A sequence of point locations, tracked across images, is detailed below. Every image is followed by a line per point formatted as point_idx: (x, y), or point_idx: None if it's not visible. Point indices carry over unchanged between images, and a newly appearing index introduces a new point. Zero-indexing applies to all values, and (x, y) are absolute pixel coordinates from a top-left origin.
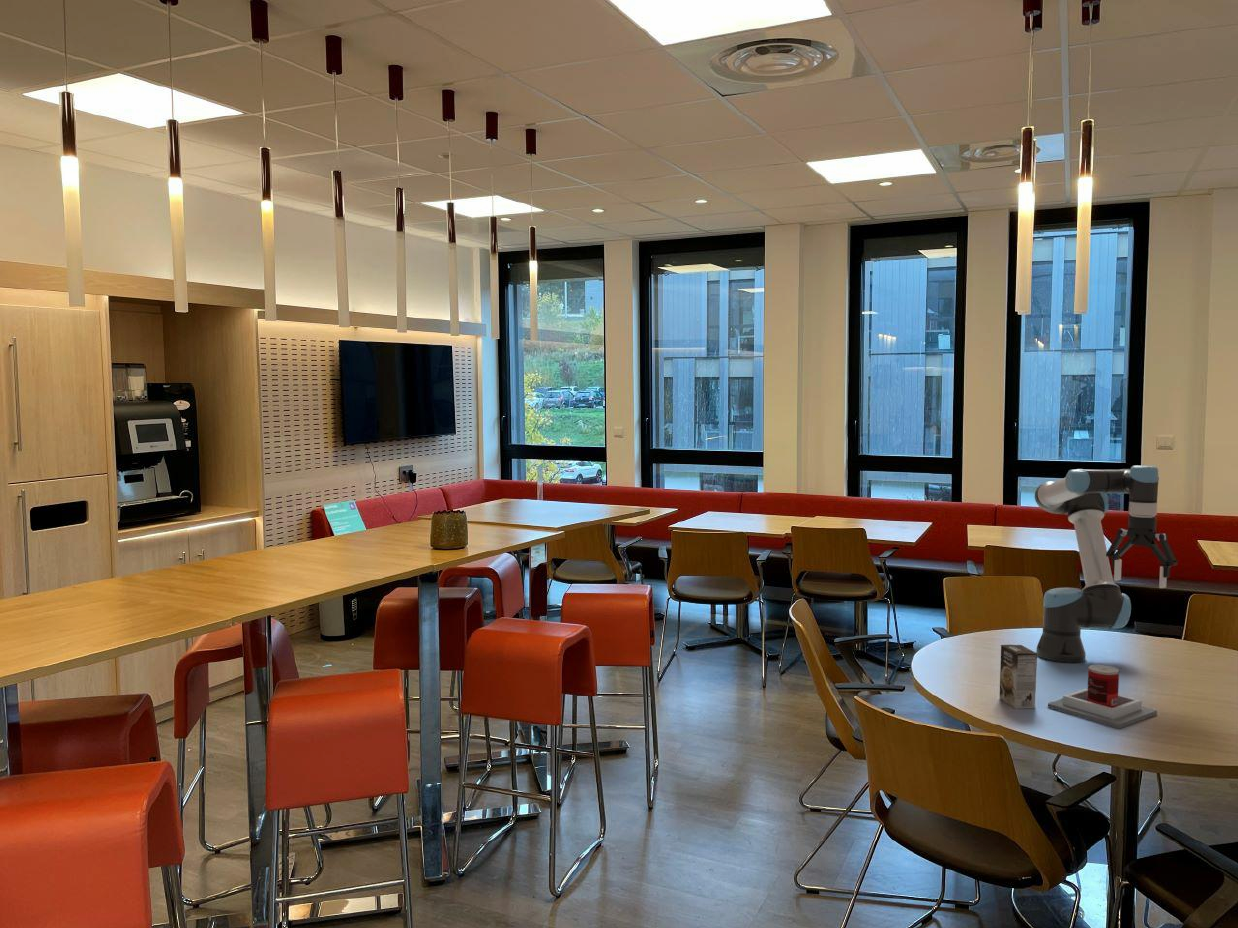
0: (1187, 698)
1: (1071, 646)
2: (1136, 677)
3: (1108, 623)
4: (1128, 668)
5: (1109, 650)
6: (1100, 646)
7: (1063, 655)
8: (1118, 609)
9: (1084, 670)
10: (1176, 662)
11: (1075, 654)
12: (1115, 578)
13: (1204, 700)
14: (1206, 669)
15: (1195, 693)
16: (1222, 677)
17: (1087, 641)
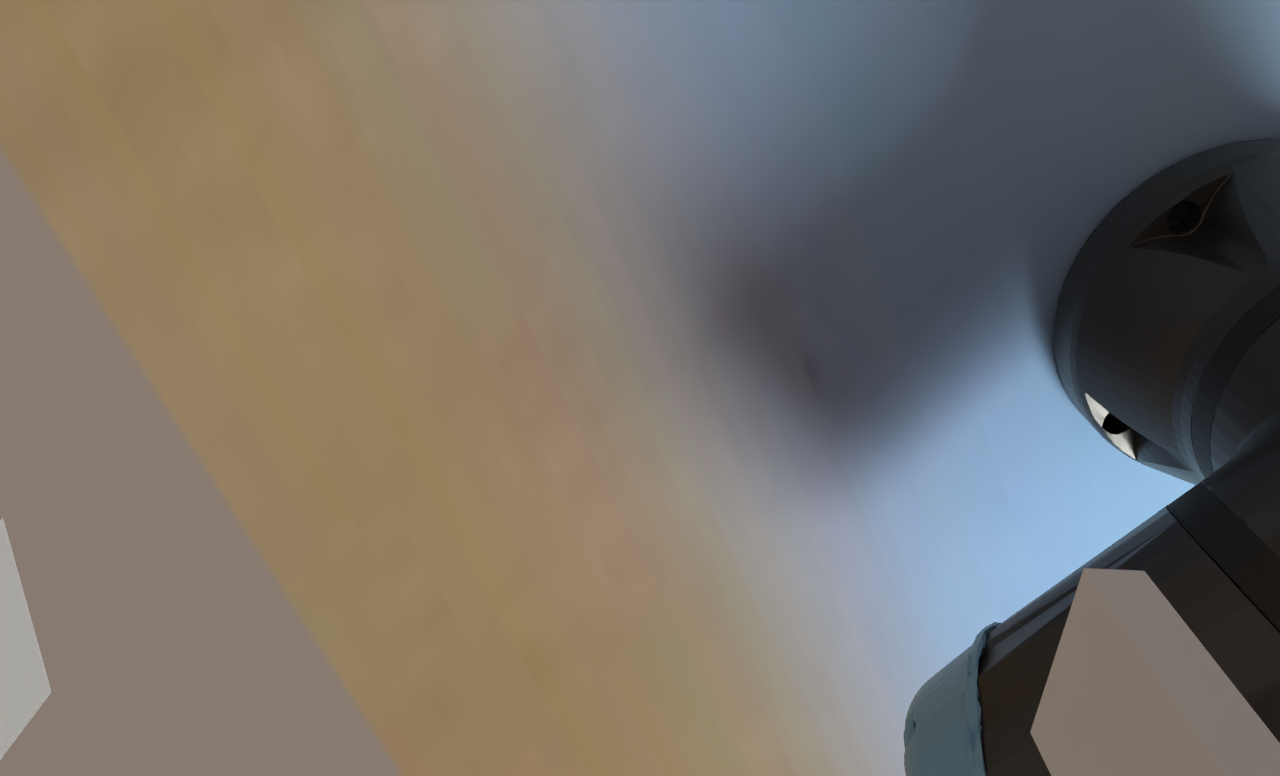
0: (181, 5)
1: (1185, 270)
2: (646, 236)
3: (1029, 605)
4: (772, 402)
5: None
6: None
7: (1195, 185)
8: (1005, 745)
9: (975, 100)
10: (637, 719)
11: (1121, 261)
12: (1134, 606)
13: (99, 60)
14: (472, 710)
15: (228, 182)
16: (342, 633)
17: None
